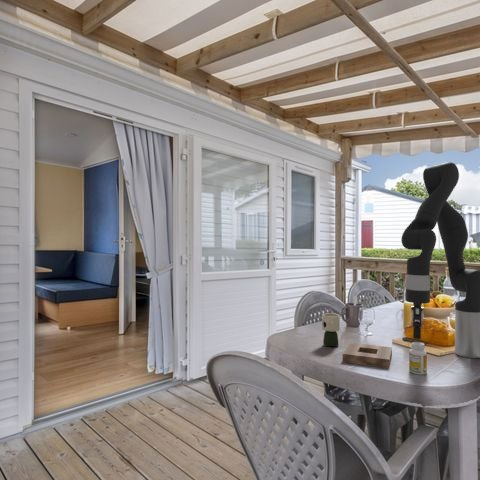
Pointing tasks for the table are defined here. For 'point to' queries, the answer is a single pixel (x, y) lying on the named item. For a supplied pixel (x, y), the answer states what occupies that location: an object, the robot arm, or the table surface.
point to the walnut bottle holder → (368, 355)
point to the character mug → (330, 328)
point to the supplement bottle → (418, 359)
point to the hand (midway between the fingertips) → (416, 335)
